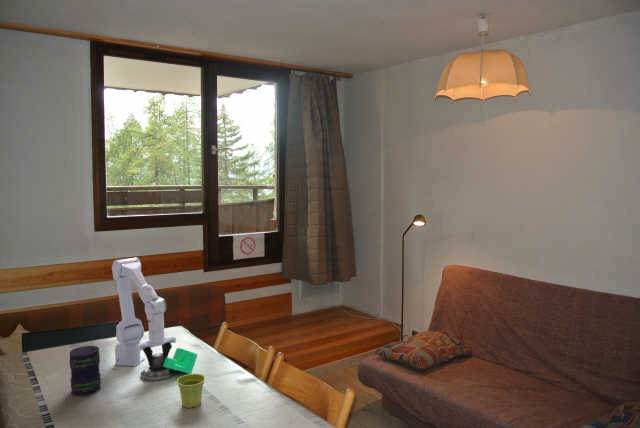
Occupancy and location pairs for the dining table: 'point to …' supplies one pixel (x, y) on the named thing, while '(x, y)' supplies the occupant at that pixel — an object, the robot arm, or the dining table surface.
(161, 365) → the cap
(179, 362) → the camera mount
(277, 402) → the dining table surface
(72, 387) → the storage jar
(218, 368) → the dining table surface
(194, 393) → the plant pot
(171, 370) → the grey knurled ring
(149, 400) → the dining table surface
